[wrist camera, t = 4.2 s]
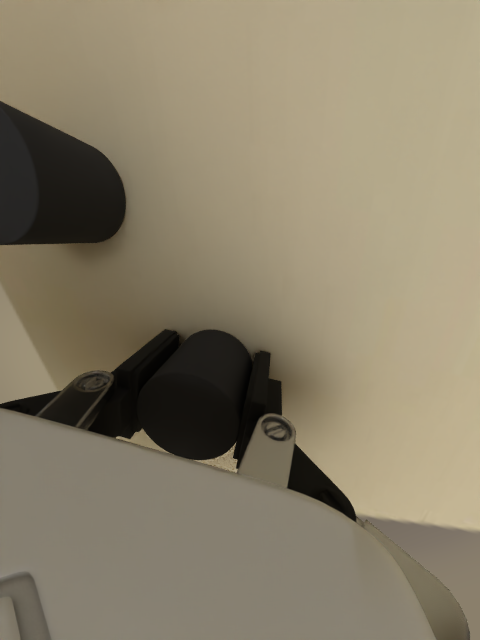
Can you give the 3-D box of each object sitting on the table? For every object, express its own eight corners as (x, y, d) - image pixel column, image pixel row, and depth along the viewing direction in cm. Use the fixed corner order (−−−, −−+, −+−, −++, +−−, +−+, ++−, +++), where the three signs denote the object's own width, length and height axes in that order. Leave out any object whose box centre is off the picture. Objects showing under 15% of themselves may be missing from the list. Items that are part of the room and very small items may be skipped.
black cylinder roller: (50, 234, 11) (-64, 232, 8) (38, 136, 10) (-110, 73, 6) (126, 250, 11) (46, 255, 7) (125, 149, 9) (25, 91, 6)
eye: (176, 386, 13) (135, 445, 9) (181, 321, 12) (136, 360, 8) (245, 403, 13) (231, 472, 9) (259, 339, 11) (249, 388, 8)
